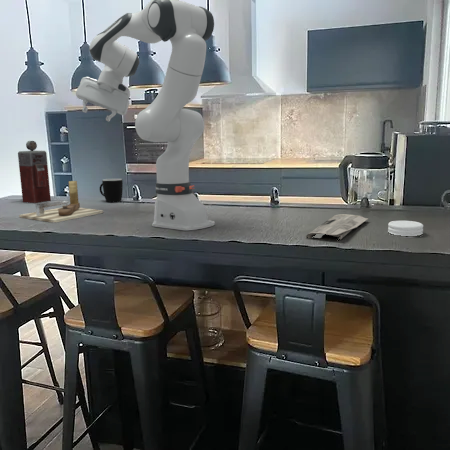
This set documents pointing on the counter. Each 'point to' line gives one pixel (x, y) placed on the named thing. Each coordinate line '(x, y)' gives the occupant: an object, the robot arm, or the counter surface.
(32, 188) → the toy vending machine
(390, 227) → the white round disc
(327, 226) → the newspaper
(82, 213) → the pivot board
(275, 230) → the counter surface
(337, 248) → the counter surface
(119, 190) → the mug
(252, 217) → the counter surface
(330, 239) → the counter surface
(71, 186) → the tan l-shaped piece
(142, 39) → the robot arm
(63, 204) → the keeper
